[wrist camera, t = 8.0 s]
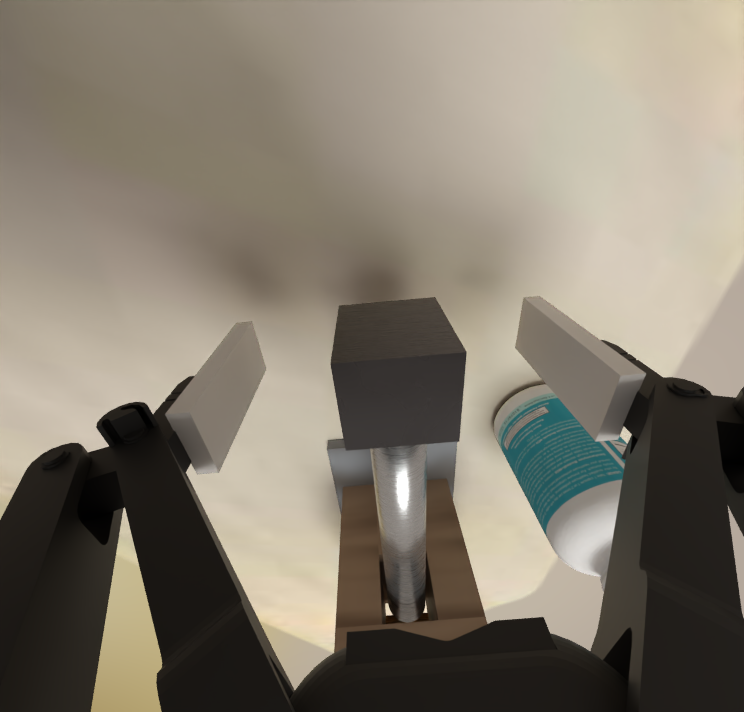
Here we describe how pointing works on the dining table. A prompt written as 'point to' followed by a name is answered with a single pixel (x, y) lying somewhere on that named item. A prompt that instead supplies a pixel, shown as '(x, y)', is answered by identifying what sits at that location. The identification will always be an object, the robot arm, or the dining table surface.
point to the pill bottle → (564, 476)
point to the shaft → (399, 421)
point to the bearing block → (365, 559)
